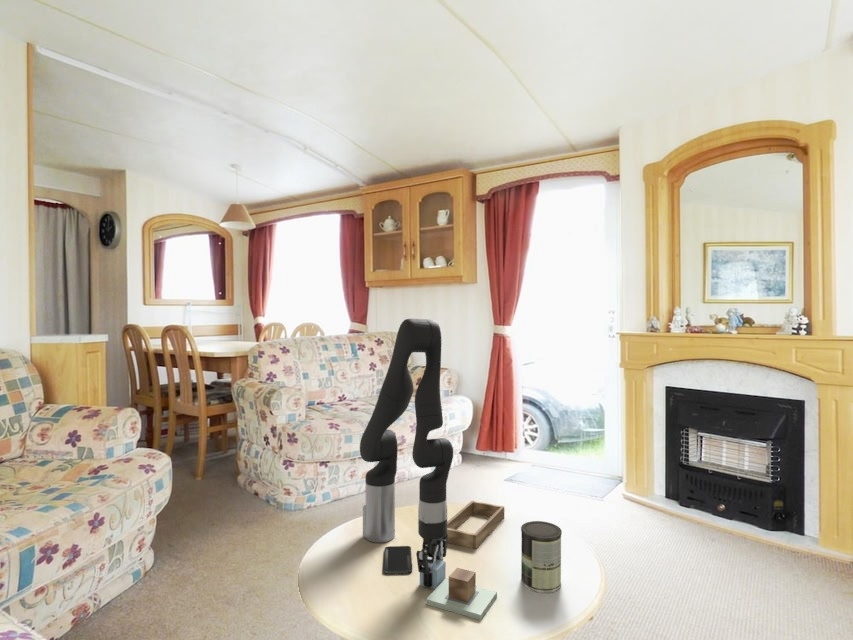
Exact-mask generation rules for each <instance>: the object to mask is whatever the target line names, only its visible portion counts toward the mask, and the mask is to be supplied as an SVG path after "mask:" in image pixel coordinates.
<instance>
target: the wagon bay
mask: <svg viewBox="0 0 853 640" xmlns="http://www.w3.org/2000/svg"><path fill="white" fill-rule="evenodd" d="M474 514H475V515H480V516H485V517H489V518H488V519H487V520H486V521H485V523H484V524H482V525H481V526H480V528H478V530H476V531H475V533H473V532H468V531H464V530H458V529H459V527H461V526H462V524H463V523H465V522H466V521H467V520H468V519H469V518H470V517H471V516H472V515H474ZM504 519H505V506H503V505H499V504H498V505H497V504H492V503H487V502H486V503H485V502H482V501H481V502H480V501H475V500H470V502H469V503H467V504H466V505H465V506H464V507H463V508H462V509H460V510H459V511H457V513H456V514H455V515H453V516H452V517H451V518H450V519H449V520H447V534H448V540H447V544H453V545H457V546H462V547H467V548H469V549H473V550H474V549H475V550H477V549H478V548H479V547H480V546H481V545H482V543H484V541H485V540H486V539H487V538H488V537H489V536H490V535H491V533H492V532H493V531H494V530H495V529H496V528H497V527H498V526H499V525H500V524H501V522H502V521H503V520H504Z"/></svg>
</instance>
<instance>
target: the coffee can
mask: <svg viewBox="0 0 853 640" xmlns="http://www.w3.org/2000/svg"><path fill="white" fill-rule="evenodd" d="M520 531H521V537H520V538H521V554H520V555H521V561H520V562H521V565H520V566H521V573H520V574H521V575H520V577H521V579H520V581H521V584H522V585H523V586H524V588H526V589H528V590H529V589H530V591H532V592H535V593H539V592H540V593H541V594H550V592H551V593H554V591H555V592H557V591H558V590H560V589H559V588H561V587H562V581H561V579H562V577H561V575H562V569H561V568H562V533H563V532H562V529H561V527H560V526H559V525H556V524H554V523H552V522H547V521H540V520H532V521H528V522H527V521H526V522H525V523H523V524H522V525H521V526H520ZM556 590H557V591H556ZM540 593H539V594H540Z"/></svg>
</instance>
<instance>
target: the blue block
mask: <svg viewBox="0 0 853 640" xmlns="http://www.w3.org/2000/svg"><path fill="white" fill-rule="evenodd" d="M428 559H432V558H431V557H428ZM428 565H430V564H429V563H428ZM446 567H447V565H446V561H445V560H443V561H441V560H437V559H436V561H435V563H434V564H433V569H432V586H431V587H430V589H433V590H435V589H436V588H437V587H438V586H439V585H440V584H441V583H442V582H443V581H444V579H445V578H447V577H446V571H447V570H446ZM419 586H423V587H425V586H424V584H423V573H421V572H419Z"/></svg>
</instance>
